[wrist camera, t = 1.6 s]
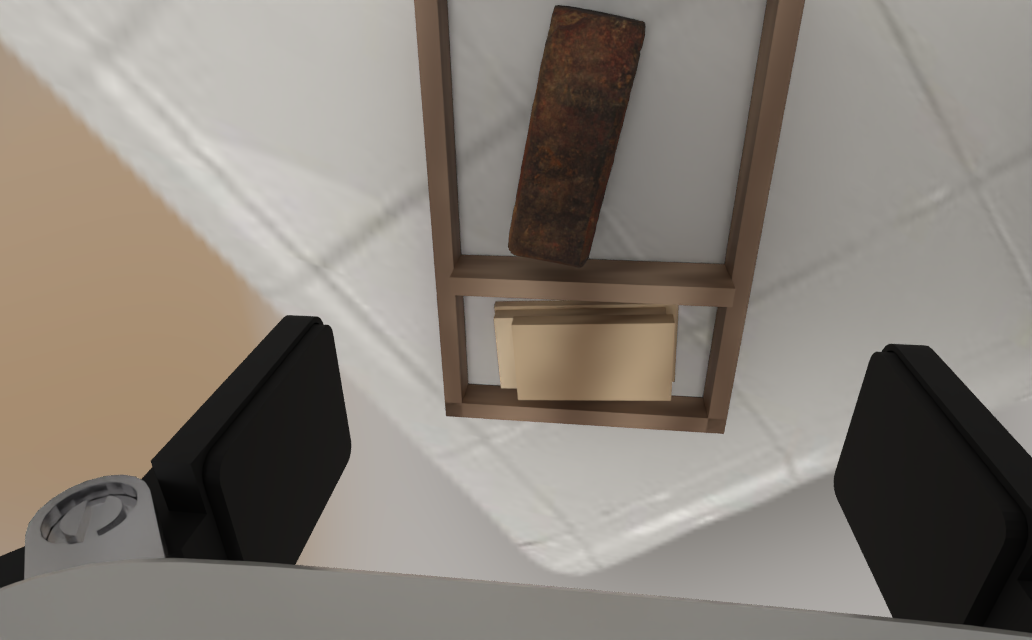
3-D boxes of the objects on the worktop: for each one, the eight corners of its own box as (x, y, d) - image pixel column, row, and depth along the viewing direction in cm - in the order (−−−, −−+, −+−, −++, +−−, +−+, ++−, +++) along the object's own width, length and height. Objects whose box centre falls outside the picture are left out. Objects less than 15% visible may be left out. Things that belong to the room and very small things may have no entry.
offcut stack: (676, 295, 34) (683, 321, 32) (672, 372, 37) (678, 402, 34) (496, 298, 36) (488, 323, 33) (503, 372, 38) (497, 401, 35)
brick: (588, 238, 33) (587, 273, 29) (515, 222, 33) (503, 255, 29) (644, 19, 28) (652, 25, 24) (557, 1, 28) (550, 4, 24)
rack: (799, -46, 26) (821, -50, 23) (718, 412, 37) (727, 445, 35) (422, -41, 28) (404, -43, 25) (452, 396, 39) (442, 426, 36)
